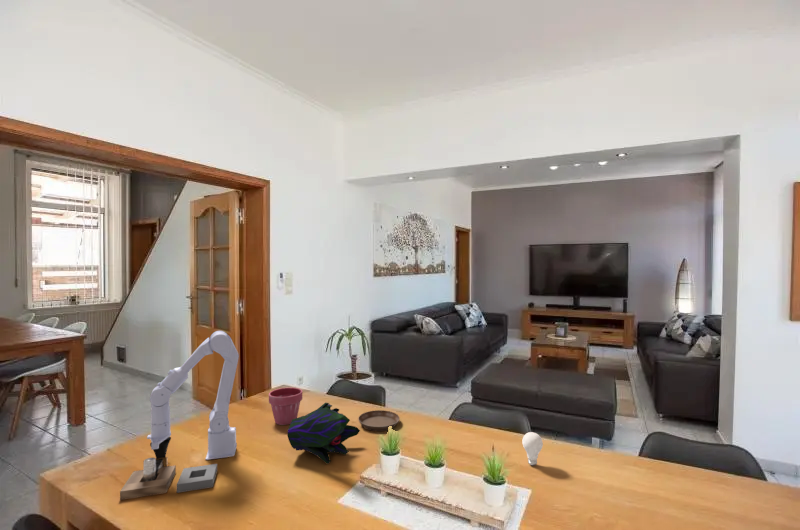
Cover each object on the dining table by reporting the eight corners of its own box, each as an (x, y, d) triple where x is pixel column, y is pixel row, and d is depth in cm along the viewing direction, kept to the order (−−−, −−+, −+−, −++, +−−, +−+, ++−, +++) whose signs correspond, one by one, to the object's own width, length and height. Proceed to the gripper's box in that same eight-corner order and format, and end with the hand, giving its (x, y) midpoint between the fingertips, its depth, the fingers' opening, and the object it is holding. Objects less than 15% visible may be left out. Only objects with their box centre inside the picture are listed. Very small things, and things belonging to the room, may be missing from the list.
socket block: (175, 472, 132) (175, 465, 132) (166, 492, 121) (166, 484, 121) (133, 478, 129) (133, 471, 129) (120, 500, 117) (120, 491, 117)
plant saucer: (407, 422, 174) (407, 415, 174) (384, 437, 160) (384, 429, 159) (374, 413, 184) (374, 407, 184) (349, 427, 169) (349, 420, 169)
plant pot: (288, 412, 186) (288, 384, 185) (309, 419, 177) (309, 390, 177) (262, 422, 174) (261, 393, 174) (282, 430, 166) (282, 399, 166)
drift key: (167, 464, 137) (167, 456, 137) (159, 479, 128) (159, 471, 128) (153, 466, 136) (153, 458, 136) (143, 481, 127) (143, 473, 127)
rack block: (217, 471, 133) (217, 463, 133) (212, 487, 124) (212, 479, 124) (183, 476, 130) (183, 468, 130) (176, 492, 121) (176, 484, 121)
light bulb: (542, 462, 138) (542, 430, 138) (542, 471, 132) (542, 438, 132) (522, 459, 140) (522, 427, 140) (521, 468, 134) (521, 435, 134)
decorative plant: (315, 467, 154) (385, 457, 145) (270, 470, 132) (350, 459, 123) (314, 410, 163) (380, 398, 154) (272, 404, 142) (347, 389, 132)
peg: (156, 482, 127) (156, 456, 127) (153, 487, 124) (154, 461, 124) (145, 483, 126) (145, 458, 126) (142, 489, 123) (142, 463, 123)
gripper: (153, 415, 143) (153, 453, 143) (140, 431, 129) (140, 473, 129) (175, 413, 145) (175, 450, 145) (165, 428, 131) (165, 470, 131)
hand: (160, 461), depth 137 cm, fingers closed
